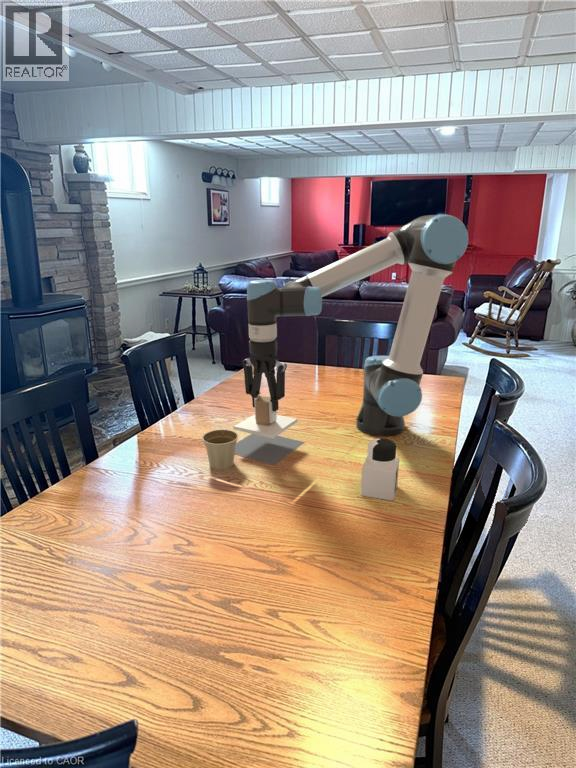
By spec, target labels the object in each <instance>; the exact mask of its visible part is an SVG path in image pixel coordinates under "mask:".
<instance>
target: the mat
mask: <svg viewBox="0 0 576 768" xmlns="http://www.w3.org/2000/svg"><path fill="white" fill-rule="evenodd" d="M304 443H305V441H302V440H297V439H293V438H289V437H284V436H281V435H278V436H276V437H275V438H269V437H264V436H260V435H256V434H251V433H249V435H247V436H245V437H244V438H242V439H240V440H239V441H237V442H236V444H235V453H234V456H235V455H236V456H239V457H242V458H246V459H250V460H252V461H253V460H254V461H257V462H260V463H264V464H268V465H271V466H276V465H277V464H278V463H280V462H281V461H283V459H285V458H286V457H287V456H288V455H290V454H291V453H293V452H294V451H295V450H297V449H298V448H300V447H301V446H302V445H304Z"/></svg>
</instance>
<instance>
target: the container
mask: <svg viewBox="0 0 576 768" xmlns="http://www.w3.org/2000/svg"><path fill="white" fill-rule="evenodd" d="M396 455H397V443H395V442H394V441H393V440H391V439H388V438H384V437H381V438H374V439H371V440H370V441H368V443H367V455H366V458H365V460H364V462H363V464H362V468H361V480H360V481H361V484H360V495H361V496H362V497H367V498H375V499H379V500H385V501H391V502H393V501H394V499H395V496H396V492H397V487H398V482H399V472H400V471H399V468H400V458H399V457H397V456H396Z"/></svg>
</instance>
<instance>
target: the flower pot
mask: <svg viewBox="0 0 576 768" xmlns="http://www.w3.org/2000/svg"><path fill="white" fill-rule="evenodd" d="M238 439H239V434H238V433H237V432H236V431H235V430H231V429H221V428H220V429H213V430H210V431H208V432H206V433H204V434H203V435H202V438H201V440H202V442H203V443H204V446H205V449H206V454H207V457H208V458H207V459H208V462H209V463H208V464H209V466H210V468H212V469H214V470H220V471H221V470H225V469H229V468H231V467H233V466H234V464H235V463H234V460H235V454H234V453H235V444H236V443H237V442H238Z"/></svg>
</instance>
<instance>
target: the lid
mask: <svg viewBox="0 0 576 768" xmlns="http://www.w3.org/2000/svg"><path fill="white" fill-rule="evenodd" d="M261 396H262V397H261V398H259V399H257V400H255V408H256V420H255V413H254V414H253V415H251V416H249V417H247V418H246V419H244V420H242V421H240V422H238V423H237V424H235V425H233V431H239V432H243V433H247V434H256V435H260V436H264V437H269V438H275V437H276V436H280V435H281V434H282V433H284V432H285V431H287V430H288V429H289V428H292V426H294V425H295V424H297V423H298V418H293V417H290V416H284V415H280V414H276V416H277V420H276V421H274V422H273V423H269V402H268V401H269V400H270V399H271V397H270V396H265V395H261ZM255 408H254V409H255Z"/></svg>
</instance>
